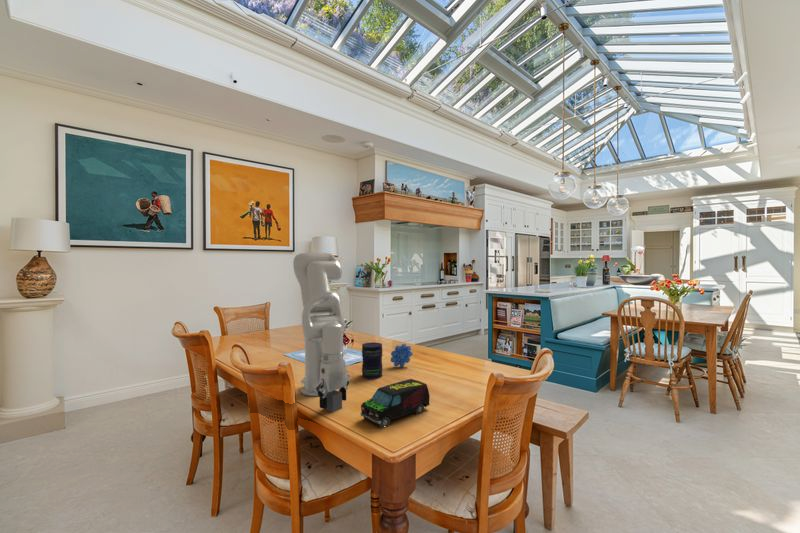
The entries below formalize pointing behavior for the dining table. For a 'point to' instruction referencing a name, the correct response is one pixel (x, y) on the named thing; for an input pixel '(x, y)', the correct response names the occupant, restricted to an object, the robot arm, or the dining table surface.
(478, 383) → the dining table surface
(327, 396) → the grey block
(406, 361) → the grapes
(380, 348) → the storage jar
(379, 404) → the toy van
